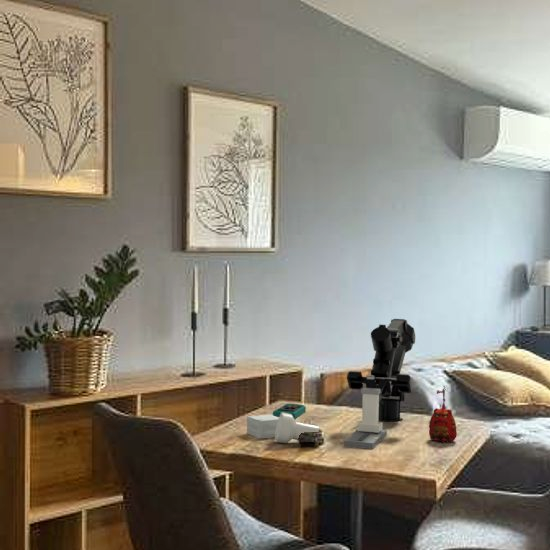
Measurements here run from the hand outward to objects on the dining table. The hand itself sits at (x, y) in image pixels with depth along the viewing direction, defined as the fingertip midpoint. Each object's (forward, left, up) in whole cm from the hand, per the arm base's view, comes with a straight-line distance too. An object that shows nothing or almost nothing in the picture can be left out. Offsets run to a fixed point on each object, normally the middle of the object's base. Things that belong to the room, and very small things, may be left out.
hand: (374, 405), depth 230 cm
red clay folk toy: (-13, +15, -8) cm, 22 cm away
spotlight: (+27, +3, -8) cm, 29 cm away
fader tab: (+4, +4, -6) cm, 8 cm away
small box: (+31, -9, -8) cm, 33 cm away
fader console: (+8, +8, -8) cm, 14 cm away
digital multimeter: (+10, -34, -9) cm, 36 cm away
